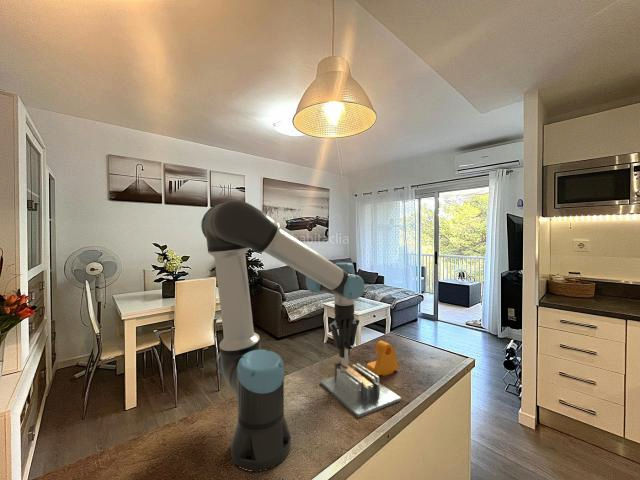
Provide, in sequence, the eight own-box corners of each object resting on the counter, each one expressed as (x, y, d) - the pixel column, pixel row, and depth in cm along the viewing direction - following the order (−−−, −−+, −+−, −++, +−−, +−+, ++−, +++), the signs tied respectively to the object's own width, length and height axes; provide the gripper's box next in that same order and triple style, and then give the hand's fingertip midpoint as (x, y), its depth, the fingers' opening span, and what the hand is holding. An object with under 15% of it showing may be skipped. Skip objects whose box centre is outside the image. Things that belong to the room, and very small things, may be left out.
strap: (375, 388, 92) (375, 385, 92) (368, 391, 91) (368, 388, 91) (346, 366, 107) (346, 363, 107) (339, 368, 106) (339, 365, 106)
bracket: (385, 364, 119) (385, 336, 119) (398, 371, 113) (398, 341, 113) (366, 370, 114) (366, 341, 114) (378, 377, 108) (378, 347, 108)
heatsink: (400, 400, 93) (400, 381, 93) (357, 417, 84) (357, 396, 84) (358, 371, 113) (358, 356, 113) (320, 383, 104) (320, 366, 104)
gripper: (335, 307, 99) (335, 373, 99) (364, 303, 105) (364, 364, 106) (324, 303, 105) (324, 365, 106) (352, 299, 112) (352, 357, 112)
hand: (344, 364), depth 106 cm, fingers closed
